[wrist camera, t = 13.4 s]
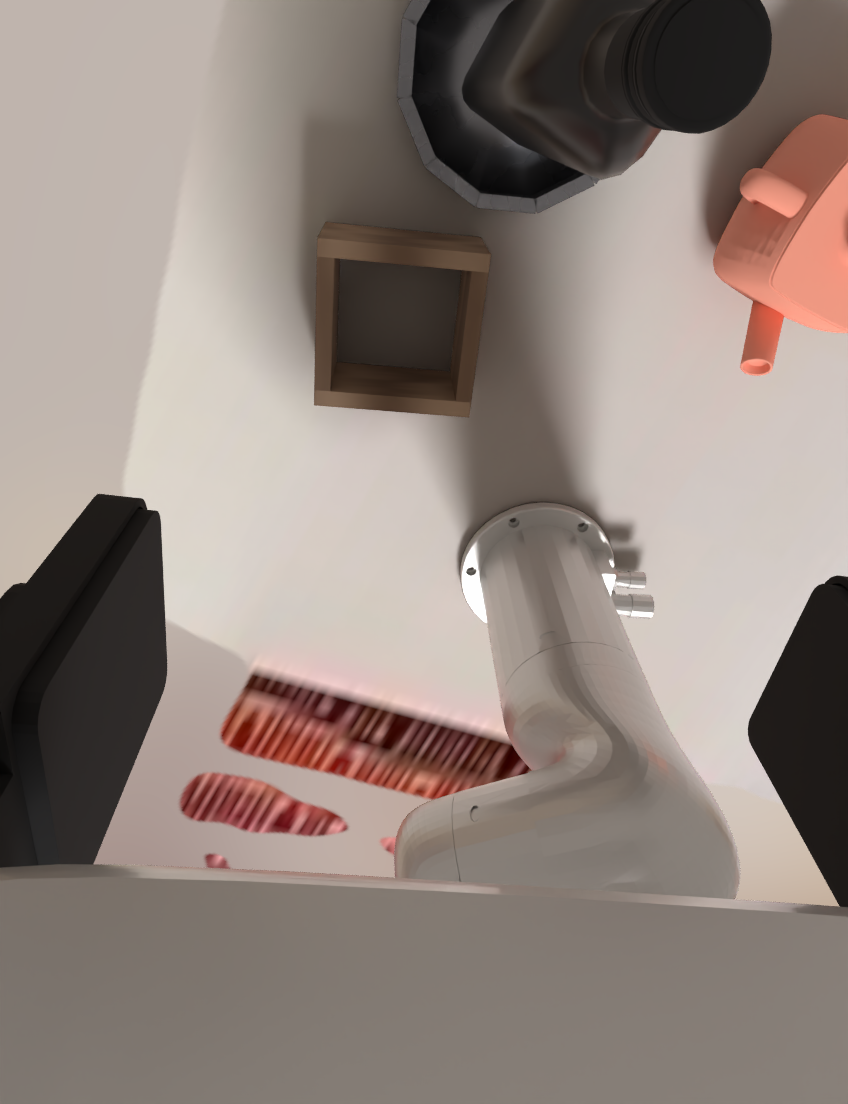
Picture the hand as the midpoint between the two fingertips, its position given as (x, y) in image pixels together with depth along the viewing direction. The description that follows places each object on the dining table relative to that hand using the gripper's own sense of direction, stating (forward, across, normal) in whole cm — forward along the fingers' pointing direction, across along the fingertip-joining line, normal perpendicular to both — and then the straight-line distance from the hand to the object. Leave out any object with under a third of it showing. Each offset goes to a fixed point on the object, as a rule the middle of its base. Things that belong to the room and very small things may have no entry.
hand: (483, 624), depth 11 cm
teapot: (+43, -24, -4) cm, 50 cm away
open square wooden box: (+43, +1, +6) cm, 43 cm away
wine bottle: (+42, -5, -9) cm, 43 cm away
